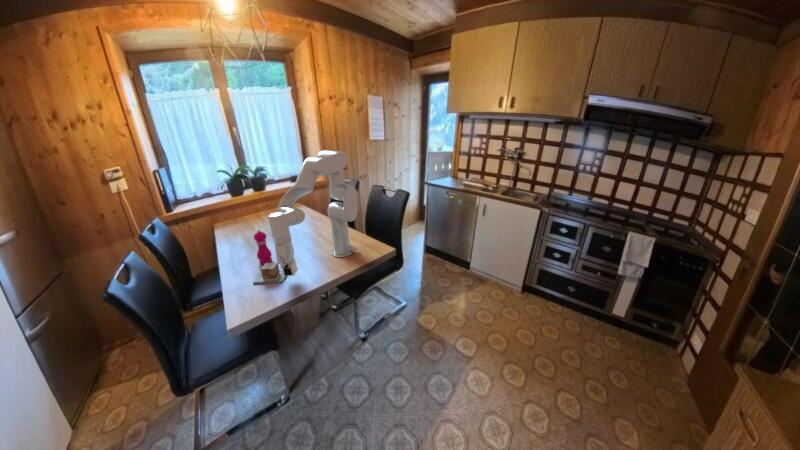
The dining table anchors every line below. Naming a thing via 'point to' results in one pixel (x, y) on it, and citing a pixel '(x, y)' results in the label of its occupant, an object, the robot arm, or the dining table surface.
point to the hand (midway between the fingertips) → (290, 271)
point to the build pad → (279, 279)
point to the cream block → (291, 265)
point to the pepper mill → (262, 248)
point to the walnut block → (270, 271)
